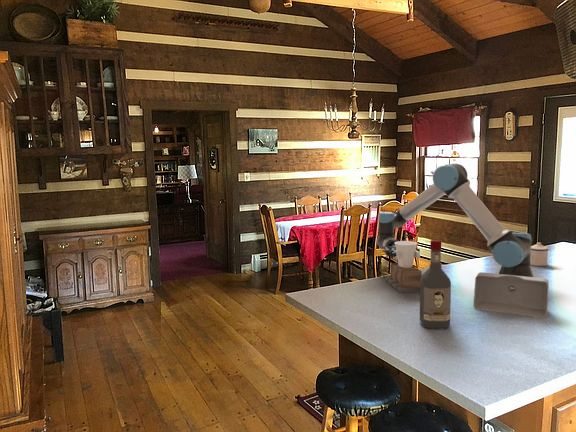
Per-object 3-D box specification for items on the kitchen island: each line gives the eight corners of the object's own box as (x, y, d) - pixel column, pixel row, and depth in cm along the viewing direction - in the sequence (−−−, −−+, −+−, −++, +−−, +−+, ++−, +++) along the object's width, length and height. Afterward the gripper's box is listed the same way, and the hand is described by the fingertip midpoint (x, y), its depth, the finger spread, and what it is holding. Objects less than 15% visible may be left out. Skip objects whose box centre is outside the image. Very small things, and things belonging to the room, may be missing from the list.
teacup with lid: (547, 263, 251) (548, 241, 249) (547, 266, 243) (548, 244, 241) (522, 261, 256) (523, 240, 255) (522, 265, 248) (522, 243, 247)
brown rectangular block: (386, 281, 222) (386, 263, 221) (410, 280, 223) (411, 262, 222) (399, 292, 204) (399, 272, 203) (425, 291, 205) (426, 271, 204)
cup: (414, 264, 217) (415, 240, 215) (418, 269, 207) (418, 244, 206) (392, 264, 218) (393, 240, 216) (395, 269, 208) (395, 244, 207)
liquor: (418, 320, 169) (419, 238, 166) (443, 319, 169) (445, 238, 165) (424, 329, 160) (426, 243, 157) (451, 329, 160) (453, 242, 156)
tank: (547, 305, 182) (548, 274, 181) (546, 318, 169) (548, 284, 167) (478, 297, 195) (479, 268, 193) (473, 308, 181) (473, 277, 179)
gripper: (413, 252, 231) (432, 263, 208) (371, 254, 229) (386, 265, 206) (413, 237, 230) (432, 246, 207) (371, 239, 228) (386, 248, 205)
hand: (409, 255), depth 207 cm, fingers closed on cup, 8 cm apart
